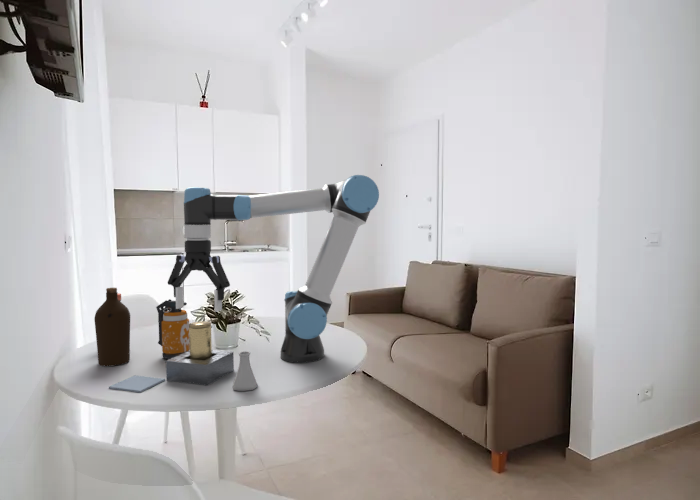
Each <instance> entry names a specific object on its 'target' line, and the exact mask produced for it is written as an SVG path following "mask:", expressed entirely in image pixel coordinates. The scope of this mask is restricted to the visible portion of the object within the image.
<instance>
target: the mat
mask: <svg viewBox="0 0 700 500" xmlns="http://www.w3.org/2000/svg"><path fill="white" fill-rule="evenodd" d="M165 381H166V378H162V377H151V376H146V375H136V374H135V375H132V376H130V377H128V378H126V379H123V380H121V381H118V382H116V383H114V384H112V385H109V386H108V389H111V390H119V391H127V392H134V393H142V392H144V391H146V390H149V389H151V388H154V387H156V386H157V385H158V384H159V385H160V384H161V383H163V382H165Z"/></svg>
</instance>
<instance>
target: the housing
mask: <svg viewBox="0 0 700 500" xmlns="http://www.w3.org/2000/svg"><path fill="white" fill-rule="evenodd" d="M234 362H235V361H234V351H231V350H221V349H219V350H218V349H212V357H210V358H208V359H206V360H204V361H203V360H193V359H190V351H188V352H185V353H183V354H181V355H178V356H176V357H174V358H171V359H167V360H166V361H165V368H166V369H165V371H166V381H167V382H175V383H183V384H190V385H191V384H192V385H201V386H209V385H211V384H213V383H214V382H216V381H218V380H220V379H221V378H223V377H224V376H226V375H229V374H230V373H231V372H233V371H234V370H235V367H234V366H235V364H234Z"/></svg>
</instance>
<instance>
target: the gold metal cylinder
mask: <svg viewBox="0 0 700 500" xmlns="http://www.w3.org/2000/svg"><path fill="white" fill-rule="evenodd" d="M212 345H213V344H212V322H211V321H206V320H205V321H194V322H191V323H190V322H189V346H190V359H193V360H203V361H204V360H206V359H208V358H210V357H212V350H213V348H212V347H213V346H212Z"/></svg>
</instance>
